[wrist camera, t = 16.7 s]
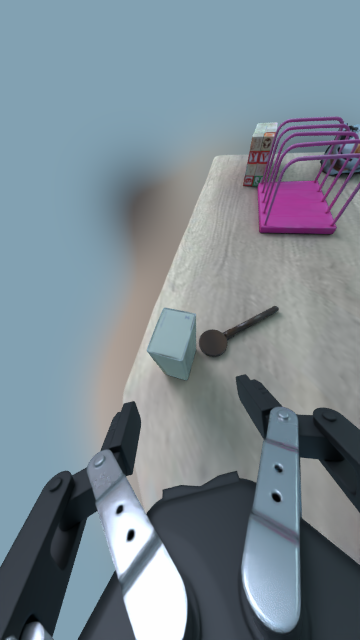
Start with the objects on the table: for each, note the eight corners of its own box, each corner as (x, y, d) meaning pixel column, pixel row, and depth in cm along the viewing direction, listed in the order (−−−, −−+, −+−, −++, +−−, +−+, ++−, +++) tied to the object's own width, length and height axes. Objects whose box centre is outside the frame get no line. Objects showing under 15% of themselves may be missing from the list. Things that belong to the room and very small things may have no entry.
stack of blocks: (251, 161, 69) (260, 114, 59) (267, 161, 68) (280, 113, 57) (242, 186, 60) (252, 135, 49) (261, 186, 58) (275, 135, 47)
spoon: (267, 300, 35) (269, 297, 34) (285, 318, 32) (288, 315, 31) (194, 338, 32) (194, 336, 31) (208, 361, 30) (208, 359, 29)
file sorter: (314, 187, 55) (351, 111, 41) (332, 235, 43) (394, 150, 29) (257, 188, 58) (274, 118, 44) (259, 233, 46) (284, 155, 32)
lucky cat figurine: (373, 168, 57) (417, 119, 43) (338, 195, 59) (370, 156, 46) (340, 142, 60) (372, 88, 46) (308, 168, 62) (329, 124, 49)
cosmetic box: (174, 342, 32) (163, 305, 22) (197, 348, 31) (197, 312, 21) (163, 375, 29) (143, 350, 19) (188, 382, 28) (182, 361, 18)
